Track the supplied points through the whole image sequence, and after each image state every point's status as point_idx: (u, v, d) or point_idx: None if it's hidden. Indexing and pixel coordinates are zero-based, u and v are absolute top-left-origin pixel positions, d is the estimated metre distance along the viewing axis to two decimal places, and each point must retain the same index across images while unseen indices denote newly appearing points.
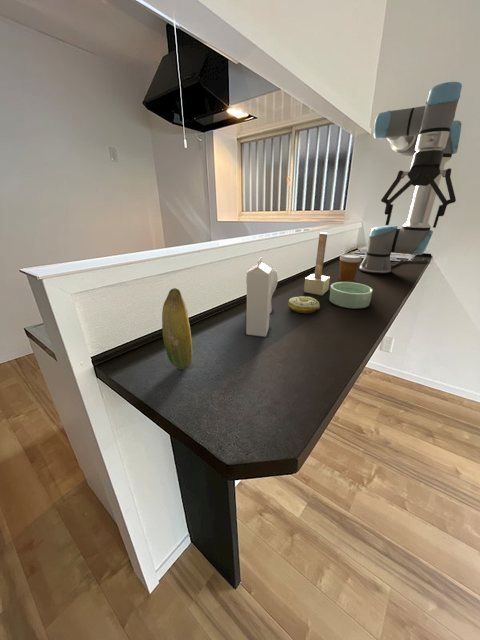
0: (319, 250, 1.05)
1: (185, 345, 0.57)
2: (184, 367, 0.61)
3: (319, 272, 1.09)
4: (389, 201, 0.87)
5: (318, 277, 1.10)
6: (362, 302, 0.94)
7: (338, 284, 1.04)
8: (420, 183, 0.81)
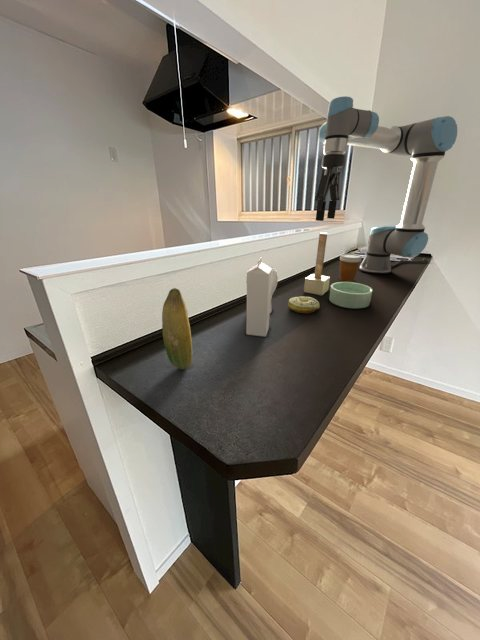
0: (319, 250, 1.05)
1: (185, 345, 0.57)
2: (184, 367, 0.61)
3: (319, 272, 1.09)
4: None
5: (318, 277, 1.10)
6: (362, 302, 0.94)
7: (338, 284, 1.04)
8: None
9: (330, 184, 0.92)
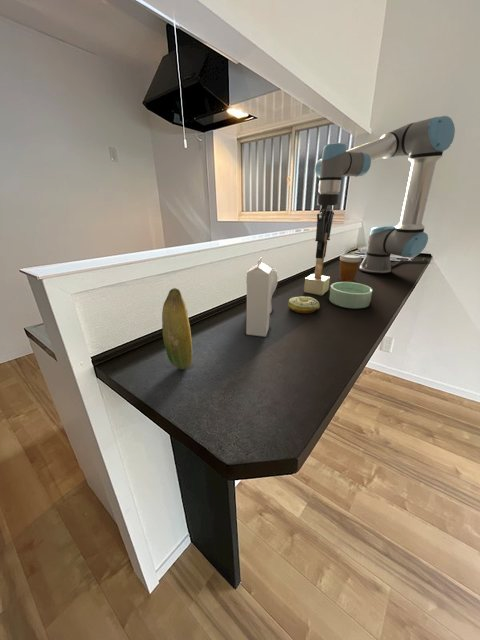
0: None
1: (185, 345, 0.57)
2: (184, 367, 0.61)
3: (319, 272, 1.09)
4: None
5: (318, 277, 1.10)
6: (362, 302, 0.94)
7: (338, 284, 1.04)
8: None
9: (326, 223, 1.00)
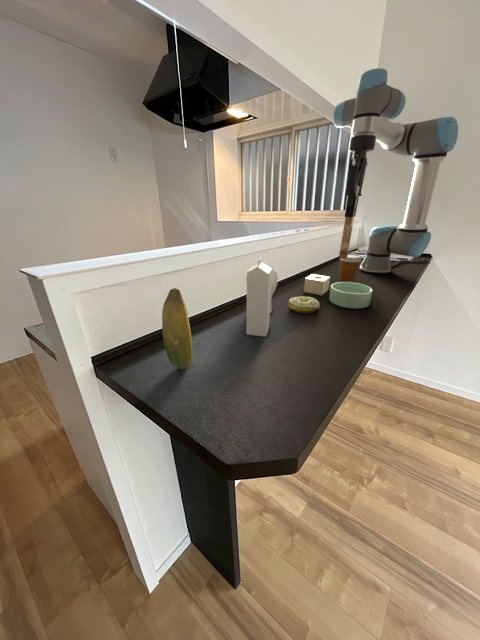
0: None
1: (185, 345, 0.57)
2: (184, 367, 0.61)
3: (348, 234, 0.94)
4: None
5: (346, 240, 0.95)
6: (362, 302, 0.94)
7: (338, 284, 1.04)
8: None
9: (360, 173, 0.85)
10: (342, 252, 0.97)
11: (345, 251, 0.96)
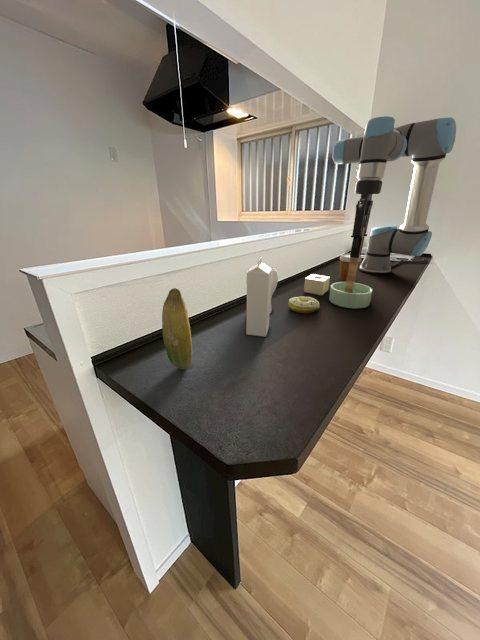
0: None
1: (185, 345, 0.57)
2: (184, 367, 0.61)
3: (353, 274, 0.92)
4: None
5: (352, 280, 0.93)
6: (362, 302, 0.94)
7: (338, 284, 1.04)
8: None
9: (366, 215, 0.84)
10: (347, 290, 0.96)
11: (350, 290, 0.95)
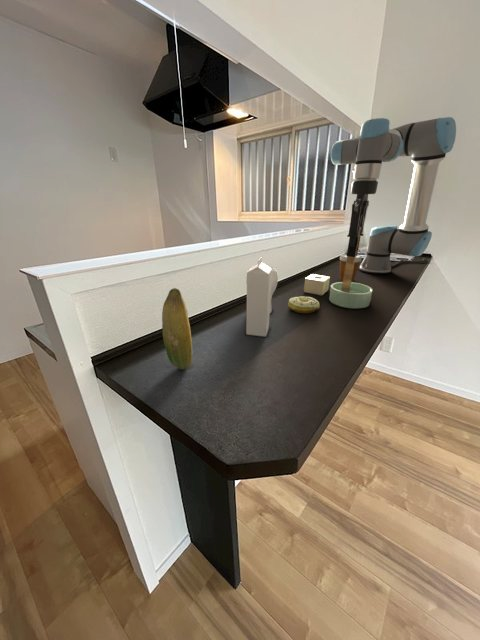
0: None
1: (185, 345, 0.57)
2: (184, 367, 0.61)
3: (350, 273, 0.94)
4: None
5: (348, 278, 0.95)
6: (362, 302, 0.94)
7: (338, 284, 1.04)
8: None
9: (362, 215, 0.85)
10: (344, 289, 0.97)
11: (347, 288, 0.96)
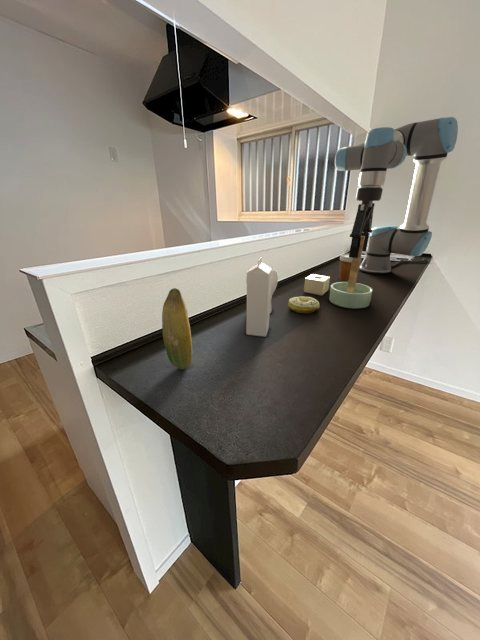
0: None
1: (185, 345, 0.57)
2: (184, 367, 0.61)
3: (354, 280, 0.96)
4: (362, 229, 0.97)
5: (352, 286, 0.97)
6: (362, 302, 0.94)
7: (338, 284, 1.04)
8: None
9: (366, 219, 0.85)
10: None
11: None
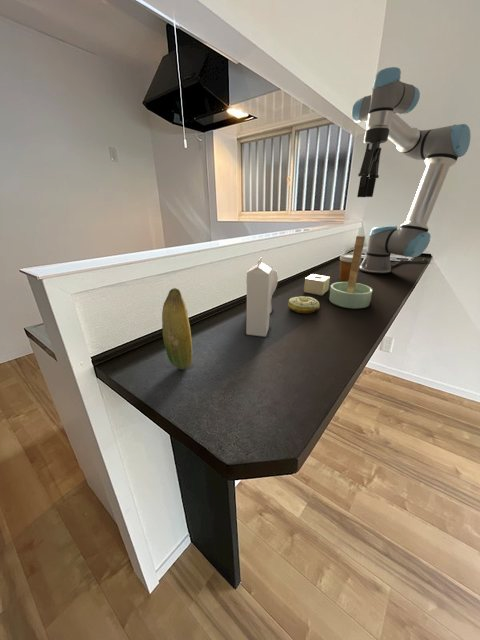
0: (355, 255, 0.93)
1: (185, 345, 0.57)
2: (184, 367, 0.61)
3: (354, 280, 0.96)
4: None
5: (352, 286, 0.97)
6: (362, 302, 0.94)
7: (338, 284, 1.04)
8: None
9: (373, 159, 0.91)
10: None
11: None
